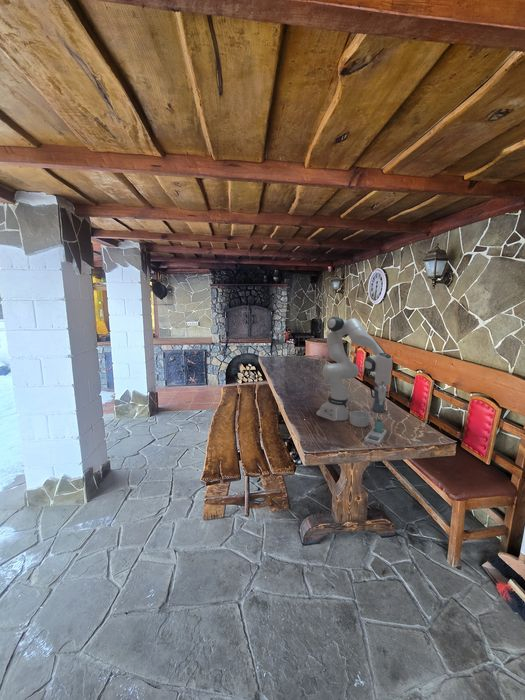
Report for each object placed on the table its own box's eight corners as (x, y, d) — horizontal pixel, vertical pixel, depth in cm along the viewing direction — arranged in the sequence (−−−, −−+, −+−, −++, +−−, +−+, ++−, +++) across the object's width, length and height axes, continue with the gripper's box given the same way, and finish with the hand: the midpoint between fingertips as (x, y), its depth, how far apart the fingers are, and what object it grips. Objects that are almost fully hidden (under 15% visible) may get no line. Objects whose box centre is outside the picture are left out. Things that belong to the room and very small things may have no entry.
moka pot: (384, 415, 204) (386, 388, 201) (365, 408, 216) (366, 383, 212) (390, 412, 210) (392, 386, 207) (371, 406, 222) (373, 381, 218)
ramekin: (353, 418, 197) (353, 409, 196) (372, 423, 189) (372, 414, 187) (345, 424, 187) (346, 414, 186) (365, 430, 178) (366, 420, 177)
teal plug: (375, 434, 173) (376, 420, 171) (374, 431, 176) (375, 418, 175) (381, 434, 172) (383, 421, 170) (380, 432, 175) (381, 418, 174)
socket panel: (364, 441, 163) (364, 438, 163) (373, 429, 179) (373, 426, 179) (378, 445, 159) (379, 442, 158) (386, 433, 175) (386, 430, 175)
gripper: (389, 385, 158) (387, 408, 160) (387, 376, 177) (385, 397, 179) (377, 384, 160) (375, 407, 162) (376, 375, 179) (375, 396, 181)
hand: (380, 402), depth 171 cm, fingers open, 8 cm apart
